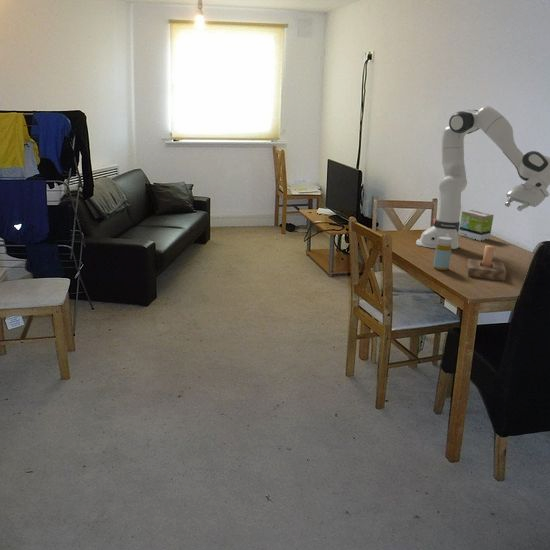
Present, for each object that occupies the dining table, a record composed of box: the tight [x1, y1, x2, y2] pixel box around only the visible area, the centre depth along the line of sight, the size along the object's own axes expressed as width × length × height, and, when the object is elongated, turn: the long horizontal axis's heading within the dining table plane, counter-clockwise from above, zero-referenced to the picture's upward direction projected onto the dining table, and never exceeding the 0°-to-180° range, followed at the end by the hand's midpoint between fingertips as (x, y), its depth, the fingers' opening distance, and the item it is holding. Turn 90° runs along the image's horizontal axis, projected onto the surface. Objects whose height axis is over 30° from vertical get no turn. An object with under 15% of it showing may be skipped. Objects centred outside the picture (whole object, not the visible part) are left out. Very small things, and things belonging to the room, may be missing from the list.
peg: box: [482, 244, 495, 267], centre depth 259 cm, size 4×4×13 cm
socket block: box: [466, 258, 507, 281], centre depth 261 cm, size 16×16×4 cm
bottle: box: [432, 236, 452, 271], centre depth 263 cm, size 7×7×15 cm
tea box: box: [458, 209, 494, 242], centre depth 326 cm, size 15×10×15 cm
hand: (512, 207), depth 262 cm, fingers open, 8 cm apart
